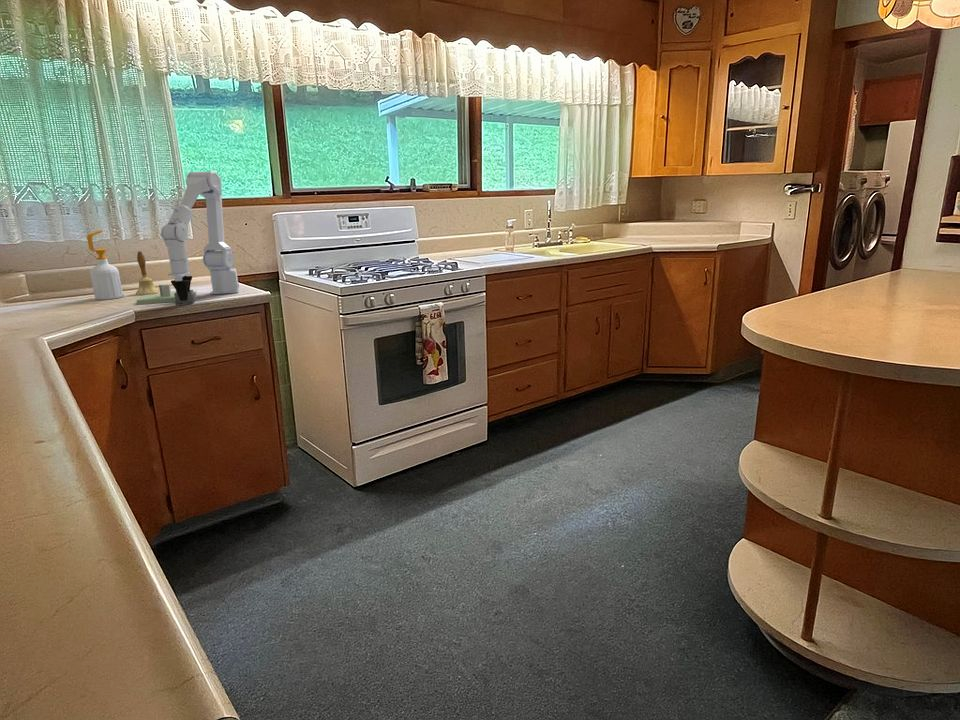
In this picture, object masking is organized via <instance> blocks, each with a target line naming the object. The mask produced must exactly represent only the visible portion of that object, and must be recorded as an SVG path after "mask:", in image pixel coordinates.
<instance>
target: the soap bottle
mask: <svg viewBox="0 0 960 720" xmlns="http://www.w3.org/2000/svg"><path fill="white" fill-rule="evenodd" d="M103 232H104V231H103V230H101V229H100V230H95V231H93V232H90V233H89V234H87V235H86V238H87V239H86V240H87V244H88V249H89V250H90V251H92V252H95V253H96V255H97V254H98V255H97V256H98V257H96V262H97V264H96V265H95V266H93V267H92V268H91V269H90V270H89V275H90V279H91V284H92V290H93V293H94V298H95V300H98V301H106V300H107V301H109V300H115V299H116V300H117V299H120V298H122V297H123V296H124V292H123V287H122V282H121V276H120V271H119V268H117V267H116V266H114V265H112V264H110V263H109V261H108V258H107V256H105V255H104V254H106V251H109V249H108V248H99V249H98V248H97V249H95V248H94V243H93V236H95V235H98V234H101V233H103Z"/></svg>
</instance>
